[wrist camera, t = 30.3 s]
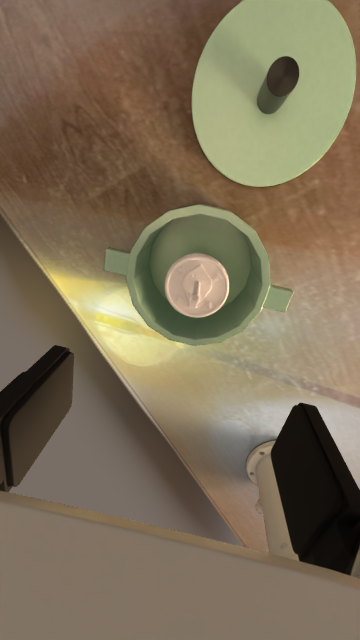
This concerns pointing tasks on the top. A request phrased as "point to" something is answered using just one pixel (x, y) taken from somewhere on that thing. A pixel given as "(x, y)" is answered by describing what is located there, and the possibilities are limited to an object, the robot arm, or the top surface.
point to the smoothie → (197, 285)
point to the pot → (218, 242)
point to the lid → (273, 89)
